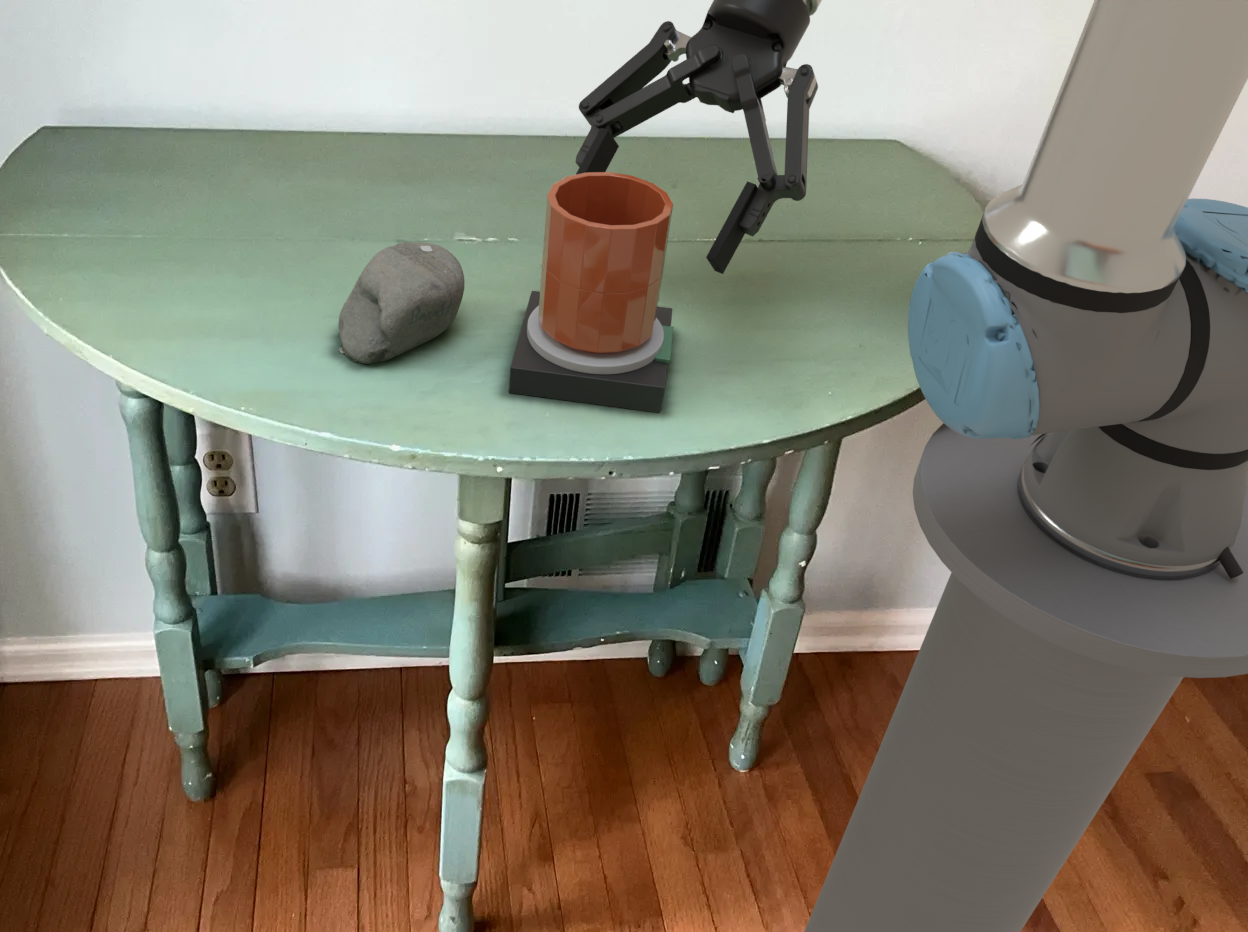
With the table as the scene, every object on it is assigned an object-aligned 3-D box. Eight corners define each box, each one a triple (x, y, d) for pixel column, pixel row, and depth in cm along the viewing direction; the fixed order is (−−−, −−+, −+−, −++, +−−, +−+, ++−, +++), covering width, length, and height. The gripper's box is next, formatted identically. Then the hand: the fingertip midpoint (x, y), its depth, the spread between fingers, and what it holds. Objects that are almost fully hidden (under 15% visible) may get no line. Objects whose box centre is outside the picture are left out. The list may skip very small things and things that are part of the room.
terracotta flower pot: (675, 341, 94) (697, 213, 87) (580, 370, 91) (594, 239, 83) (610, 288, 100) (624, 163, 93) (517, 313, 96) (525, 185, 89)
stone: (311, 321, 99) (357, 212, 95) (395, 339, 105) (442, 237, 101) (361, 376, 94) (412, 262, 90) (447, 392, 100) (498, 286, 96)
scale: (671, 332, 101) (676, 299, 99) (663, 413, 93) (668, 379, 90) (529, 314, 102) (532, 281, 100) (508, 393, 93) (510, 358, 91)
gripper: (922, 65, 91) (789, 309, 92) (652, -15, 102) (534, 205, 103) (913, 8, 85) (769, 273, 85) (624, -71, 95) (498, 165, 96)
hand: (640, 236), depth 94 cm, fingers open, 13 cm apart
